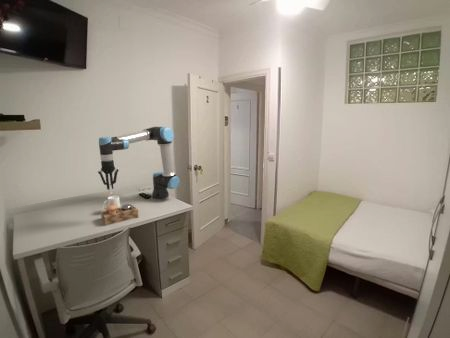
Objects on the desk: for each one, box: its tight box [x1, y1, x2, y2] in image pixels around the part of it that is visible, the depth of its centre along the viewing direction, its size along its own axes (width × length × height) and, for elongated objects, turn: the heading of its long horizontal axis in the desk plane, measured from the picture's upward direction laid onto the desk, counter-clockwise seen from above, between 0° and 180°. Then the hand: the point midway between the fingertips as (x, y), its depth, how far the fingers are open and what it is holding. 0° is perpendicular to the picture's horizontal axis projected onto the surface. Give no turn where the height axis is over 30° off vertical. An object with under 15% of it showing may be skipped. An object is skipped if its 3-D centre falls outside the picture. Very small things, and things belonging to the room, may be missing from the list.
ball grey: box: [121, 203, 132, 211], centre depth 169 cm, size 6×6×8 cm
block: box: [100, 204, 139, 226], centre depth 166 cm, size 22×12×6 cm, turn 129°
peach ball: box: [106, 205, 117, 214], centre depth 163 cm, size 6×6×8 cm
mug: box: [102, 195, 121, 210], centre depth 176 cm, size 12×8×12 cm
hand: (110, 193), depth 160 cm, fingers closed
